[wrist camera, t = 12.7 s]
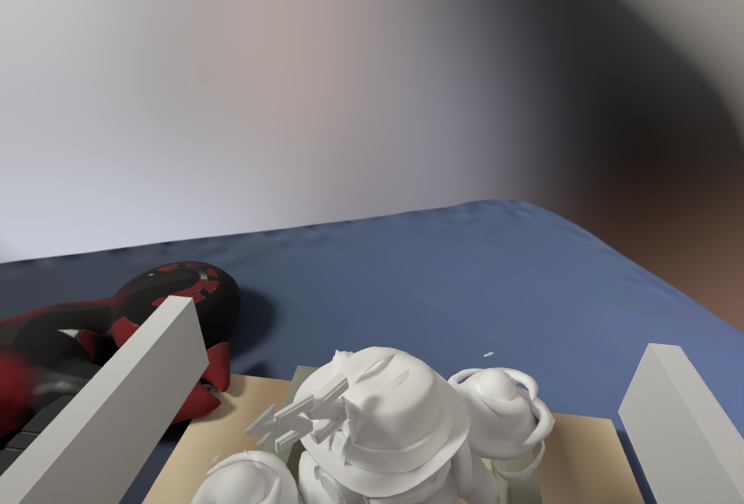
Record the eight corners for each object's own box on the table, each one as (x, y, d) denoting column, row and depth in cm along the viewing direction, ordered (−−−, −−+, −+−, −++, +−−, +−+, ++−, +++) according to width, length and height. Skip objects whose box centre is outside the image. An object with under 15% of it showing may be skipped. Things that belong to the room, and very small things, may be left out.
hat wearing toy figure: (251, 782, 11) (117, 521, 5) (227, 611, 14) (128, 325, 8) (523, 605, 14) (638, 322, 8) (456, 498, 17) (505, 237, 11)
